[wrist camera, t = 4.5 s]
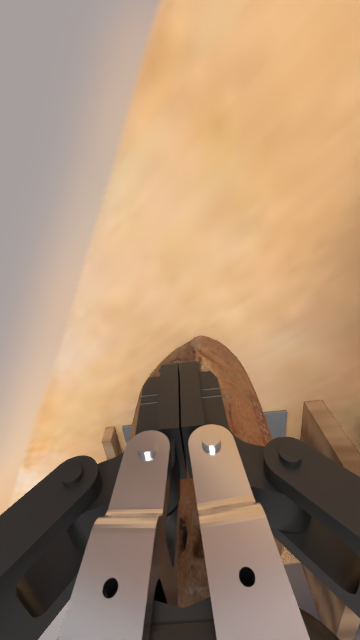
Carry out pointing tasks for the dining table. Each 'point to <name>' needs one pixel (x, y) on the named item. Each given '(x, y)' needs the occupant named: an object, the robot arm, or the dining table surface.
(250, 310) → the dining table surface
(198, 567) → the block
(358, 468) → the shelf wall
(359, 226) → the dining table surface
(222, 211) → the dining table surface
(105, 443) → the front rail
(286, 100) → the dining table surface
